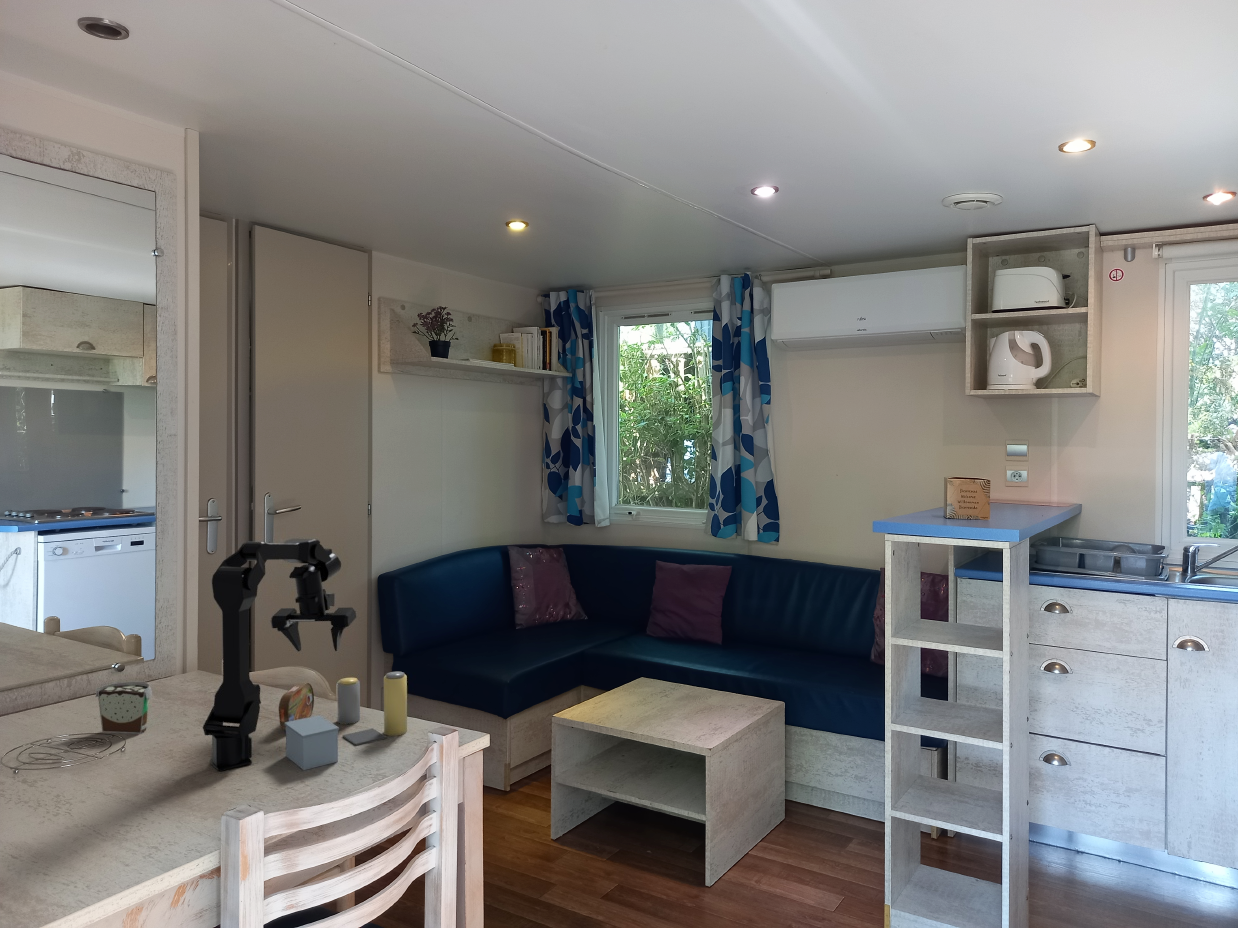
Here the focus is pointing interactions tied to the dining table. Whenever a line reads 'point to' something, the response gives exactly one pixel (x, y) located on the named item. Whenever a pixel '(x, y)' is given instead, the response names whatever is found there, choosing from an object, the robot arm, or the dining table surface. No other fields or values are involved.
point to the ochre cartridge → (395, 703)
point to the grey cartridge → (348, 700)
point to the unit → (311, 742)
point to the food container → (124, 707)
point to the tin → (296, 704)
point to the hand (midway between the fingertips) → (318, 650)
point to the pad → (364, 736)
